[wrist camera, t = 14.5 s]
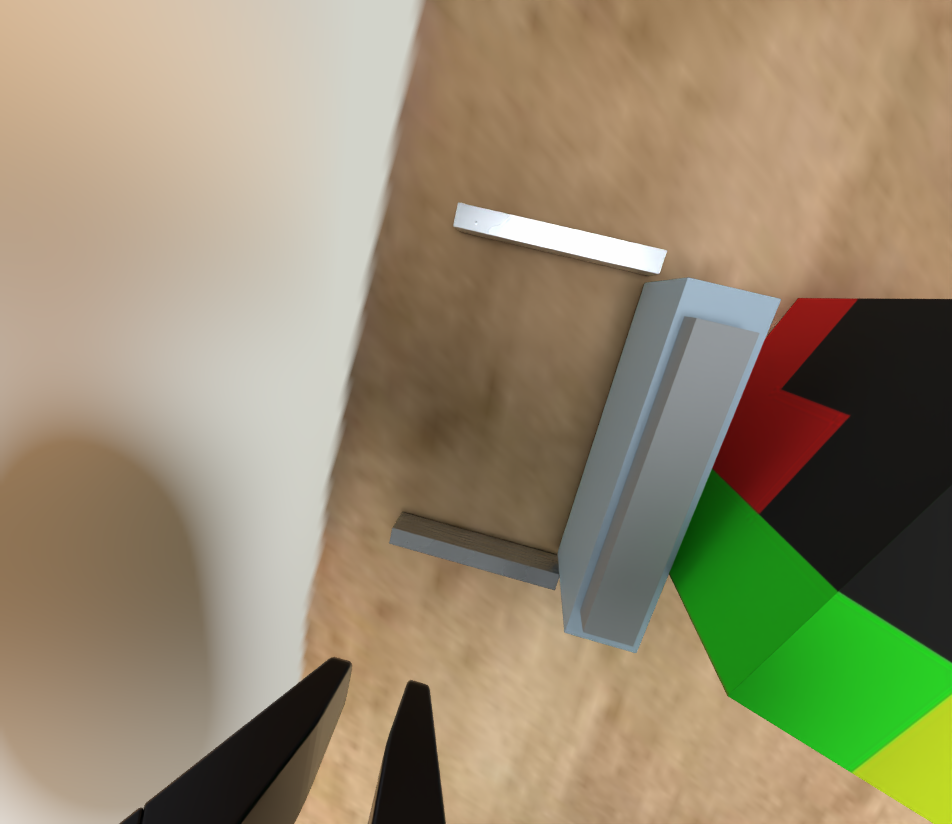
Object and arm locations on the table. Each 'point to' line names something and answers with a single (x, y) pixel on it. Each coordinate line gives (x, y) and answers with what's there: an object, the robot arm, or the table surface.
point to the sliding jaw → (655, 451)
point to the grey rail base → (549, 239)
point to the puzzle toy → (838, 542)
